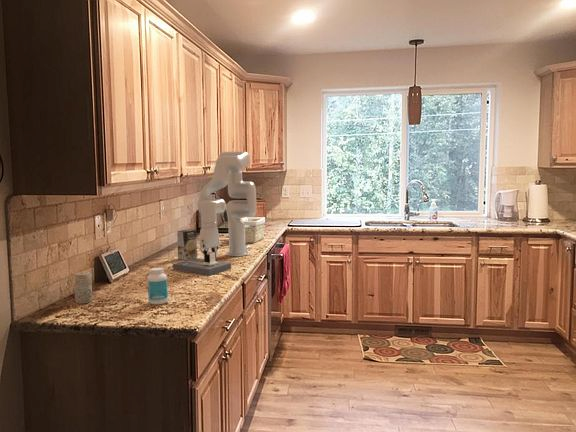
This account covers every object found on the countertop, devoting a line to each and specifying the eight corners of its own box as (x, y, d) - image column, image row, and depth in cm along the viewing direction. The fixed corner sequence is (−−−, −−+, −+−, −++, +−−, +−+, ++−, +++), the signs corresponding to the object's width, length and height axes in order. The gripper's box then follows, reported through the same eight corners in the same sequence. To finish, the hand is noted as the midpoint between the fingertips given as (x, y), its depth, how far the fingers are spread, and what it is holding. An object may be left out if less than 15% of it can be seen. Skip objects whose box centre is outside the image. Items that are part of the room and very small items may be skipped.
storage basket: (244, 237, 346) (244, 216, 344) (266, 237, 342) (266, 216, 340) (233, 243, 322) (232, 221, 321) (256, 243, 319) (256, 221, 317)
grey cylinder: (74, 305, 189) (71, 275, 188) (77, 300, 196) (75, 271, 195) (91, 304, 191) (89, 274, 189) (94, 298, 198) (92, 270, 196)
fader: (211, 262, 248) (210, 251, 247) (218, 263, 245) (218, 252, 244) (202, 264, 243) (202, 253, 242) (210, 265, 240) (209, 254, 239)
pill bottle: (172, 302, 192) (170, 268, 190) (155, 306, 186) (154, 272, 185) (161, 298, 197) (159, 265, 195) (144, 302, 191) (143, 269, 190)
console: (195, 263, 261) (195, 257, 261) (231, 268, 247) (231, 262, 247) (173, 269, 248) (172, 263, 247) (209, 275, 234) (209, 269, 234)
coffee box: (185, 260, 270) (183, 231, 268) (177, 259, 274) (176, 230, 272) (197, 257, 277) (196, 229, 275) (190, 256, 281) (189, 228, 279)
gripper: (215, 222, 250) (216, 257, 253) (191, 226, 237) (193, 263, 239) (226, 223, 246) (227, 259, 249) (203, 227, 233) (204, 265, 235)
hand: (210, 261), depth 244 cm, fingers closed on fader, 4 cm apart
